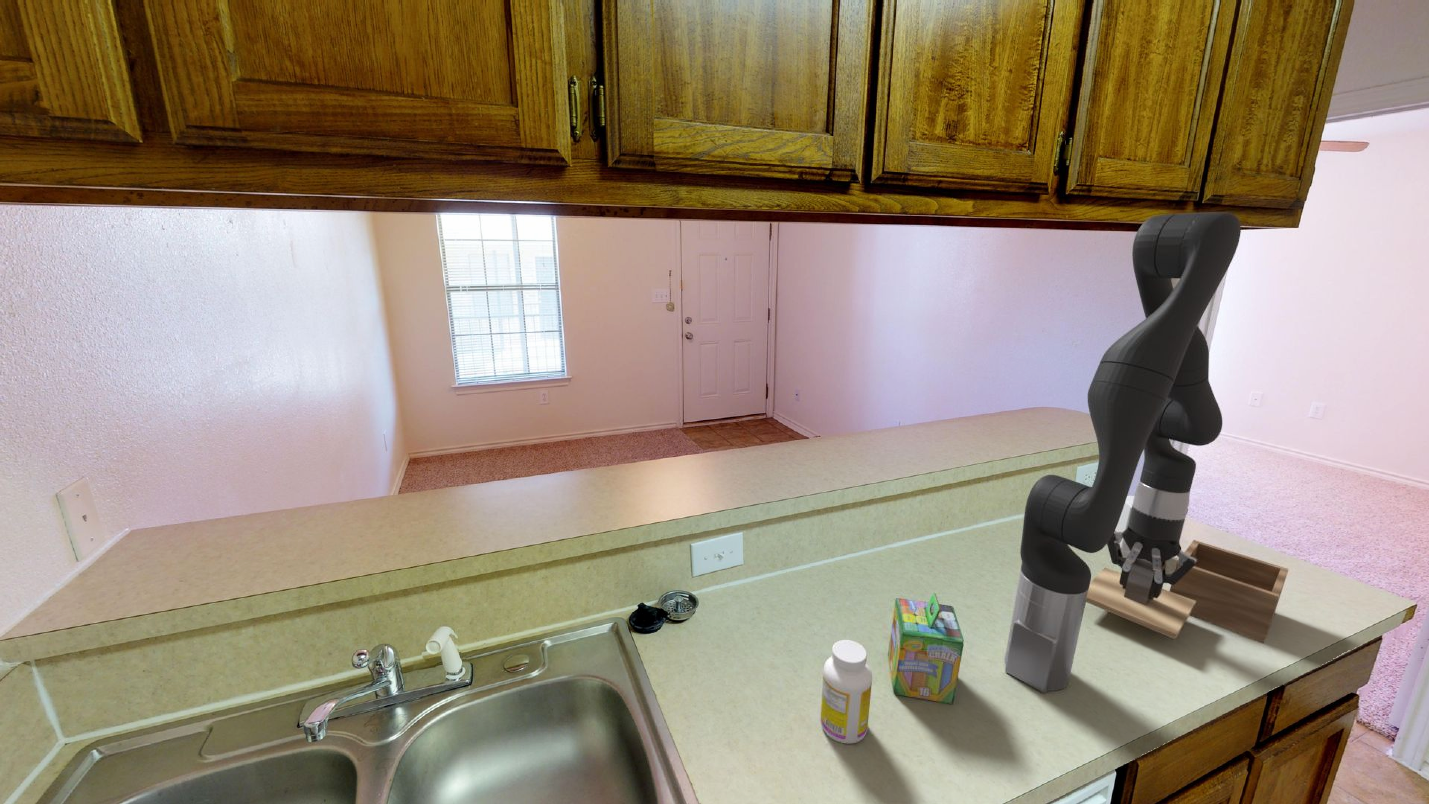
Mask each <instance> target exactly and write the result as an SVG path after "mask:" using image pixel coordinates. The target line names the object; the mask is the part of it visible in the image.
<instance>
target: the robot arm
mask: <svg viewBox="0 0 1429 804" xmlns="http://www.w3.org/2000/svg"><path fill="white" fill-rule="evenodd" d="M1241 231H1242V229H1241V222H1240V219H1239V217H1237V216H1236V215H1235V214H1233V213H1231V212H1227V211H1226V212H1224V211H1211V212H1210V211H1209V212H1208V211H1207V212H1187V213H1186V212H1185V213H1169V214H1168V213H1167V214H1160V215H1158V214H1157V215H1154V216H1151V217H1148V218H1147V219H1146V220H1145V221H1144V222H1143V223H1142V224H1141V226H1140V227H1139V228H1138V230H1137V232H1136V233H1135V236H1134V240H1133V245H1132V252H1131V254H1132V257H1131V258H1132V265H1133V266H1132V267H1133V272H1134V278H1135V281H1136V286H1137V288H1138V289H1137V290H1138V293H1139V297H1140V301H1141V306H1142V309H1143V313H1144V317H1145V319H1144V320H1142V321H1141V322H1140V323H1138V324H1137V325H1135V326H1134V327H1133V328H1131V329H1130V330H1128V331H1127V332H1126V333H1125V334H1123V335H1122V336H1121V337H1119V338H1118V339H1117V340H1116V341H1115V342H1114V343H1113V344H1111V345H1110V347H1108V348H1107V350H1106V351H1105V353H1104V354H1103V355H1102V357H1101V360H1100V362H1099V364H1098V366H1097V368H1096V371H1095V373H1094V376H1093V378H1092V381H1091V383H1090V385H1089V388H1088V391H1087V406H1088V411H1089V416H1090V420H1091V422H1092V426H1093V430H1094V433H1095V437H1096V441H1097V444H1098V445H1097V446H1098V447H1097V448H1098V463H1097V464H1098V465H1097V469H1096V472H1095V473H1096V474H1095V477H1094V479H1093V484H1092V485H1091V486H1089V485H1086V484H1084V483H1080V482H1077V481H1075V480H1072V479H1069V478H1067V477H1063V476H1059V475H1056V474H1046V475H1044V476H1042V477H1040V478H1039V479H1038V480H1036V482H1035V483H1034V485H1032V488H1031V490H1030V491H1029V494H1028V496H1027V499H1026V504H1025V508H1024V514H1023V524H1022V525H1023V526H1022V536H1021V544H1020V550H1019V551H1020V552H1019V553H1020V559H1021V560H1020V561H1021V567H1020V573H1019V579H1018V583H1017V589H1016V594H1015V599H1014V600H1015V601H1014V604H1013V605H1014V606H1013V610H1012V616H1011V621H1010V622H1011V623H1010V626H1009V627H1010V628H1009V633H1008V639H1007V644H1006V651H1005V655H1004V663H1005V668H1004V672H1006V673H1008V674H1009V675H1010V676H1012V677H1014V678H1016V679H1018V680H1020V681H1022V682H1024V683H1026V684H1027V685H1029V686H1030V687H1032V688H1034V689H1036V690H1038V691H1039V692H1041V693H1044V694H1046V693H1047V692H1048V691H1058V690H1062V689H1064V688H1066V687H1067V686H1068V685H1069V682H1070V678H1071V673H1072V669H1073V664H1074V659H1075V653H1076V650H1077V645H1078V641H1079V636H1080V631H1081V626H1082V622H1083V617H1084V613H1085V607H1086V603H1087V602H1086V600H1087V595H1088V590H1089V586H1090V583H1091V582H1092V581H1091V580H1092V571H1091V568H1090V567H1089V565H1088V564H1087V563H1086V561H1084V559H1082V558H1081V557H1080V556H1079V555H1078V554H1077V553H1076V552H1075V551H1074V550H1073V549H1072V548H1071V547H1073V548H1074V549H1077V550H1079V551H1082V552H1085V553H1088V554H1095V553H1097V552H1100V551H1101V550H1103V548H1104V547H1106V545H1107V549H1108V553H1109V557H1110V560H1111V562H1112V564H1113V565H1116V566H1118V567H1120V569H1121V572H1120V573H1121V577H1120V581H1119V582H1120V585H1123V587H1122V588H1123V589H1126V585H1127V581H1128V577H1129V572H1130V568H1131V564H1132V563H1133V564H1134V562H1135V561H1136V560H1137V559H1138V558H1139V559H1145V561H1148V562H1151V563H1153V570H1154V571H1155V572H1154V580H1153V581H1152V585H1151V589H1150V593H1149V597H1148V599H1151V600H1153V599H1154V598H1158V597H1159V596H1160V594H1161V591H1162V589H1163V585H1164V584H1168V585H1170V586H1171V585H1175V584H1176V583H1177V582H1178V581H1179V580H1180V579H1181V578H1182V577H1183V576H1184V575H1185V574H1186V573H1187V572H1188V571H1189V570H1190V569H1191V568H1193V567H1194V565H1195V564H1196V562H1197V561H1198V559H1197V558H1196V557H1195V556H1189V555H1188V554H1186V553H1185V551H1183V550H1182V547H1181V544H1180V542H1181V541H1180V540H1181V537H1182V532H1183V529H1184V524H1185V521H1186V517H1187V515H1188V511H1189V505H1190V495H1191V489H1192V484H1193V481H1194V478H1195V477H1194V476H1195V473H1196V470H1197V463H1196V461H1195V459H1194V458H1193V457H1191V456H1190V455H1187V454H1185V453H1183V452H1182V451H1180V450H1177V448H1175V447H1173V445H1172V443H1171V441H1175V442H1178V443H1183V444H1187V445H1191V446H1196V447H1197V446H1198V447H1201V446H1207V445H1209V444H1211V443H1213V442H1214V441H1215V440H1216V439H1217V438H1218V437H1219V436H1220V435H1221V432H1222V429H1223V415H1222V411H1221V408H1220V406H1219V403H1218V402H1217V399H1216V397H1215V393H1214V391H1213V389H1212V386H1211V383H1210V380H1209V375H1210V374H1209V373H1210V371H1209V370H1210V350H1209V346H1208V341H1207V339H1206V337H1205V335H1204V333H1203V331H1202V330H1201V328H1199V327H1200V326H1198V325H1199V323H1200V322H1201V321H1200V320H1201V319H1202V317H1203V315H1204V313H1205V312H1206V309H1207V308H1208V306H1209V304H1210V302H1211V301H1212V299H1213V297H1214V295H1215V293H1216V292H1217V290H1218V287H1220V285H1221V282H1222V281H1223V280H1224V279H1223V278H1224V277H1225V275H1226V273H1227V271H1228V269H1229V267H1230V265H1231V263H1232V262H1233V260H1234V257H1235V254H1236V252H1237V249H1238V246H1239V243H1240V238H1241V233H1242V232H1241ZM1172 279H1179V280H1178V281H1177V283H1176V285H1175V286H1173V282H1172ZM1170 440H1171V441H1170ZM1143 452H1144V453H1143ZM1142 454H1144V458H1143V459H1144V460H1143V465H1142V469H1141V474H1140V478H1139V481H1138V485H1137V487H1136V490H1135V492H1134V495H1133V496H1134V500H1133V505H1132V509H1131V514H1130V518H1129V523H1128V527H1127V529H1126V530H1125V531H1124V532H1116V531H1115V529H1116V527H1117V524H1118V522H1119V519H1120V516H1121V513H1122V510H1123V507H1124V504H1125V501H1126V498H1127V496H1129V491H1130V488H1131V485H1132V482H1133V480H1134V476H1135V473H1136V471H1137V468H1138V464H1139V461H1140V460H1141V456H1142ZM1122 538H1123V539H1124V540H1125V542H1126V544H1127V546H1128V548H1129V549H1130V551H1131V552H1130V553H1129V555H1128V557H1127V558H1123V555H1122V552H1121V548H1120V544H1119V543H1120V542H1121V541H1122ZM1174 557H1177V558H1178V560H1177V562H1178V564H1179V565H1180V566H1179V567H1178V568H1177V569H1176V570H1175V569H1174V571H1173V572H1172V573H1167V561H1169V560H1171V559H1172V558H1174Z"/></svg>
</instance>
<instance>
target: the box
mask: <svg viewBox="0 0 1429 804" xmlns="http://www.w3.org/2000/svg"><path fill="white" fill-rule="evenodd" d="M1184 552H1185V553H1186V554H1188V555H1189V556H1195V557H1196V558H1197V559H1198V561H1197V562H1196V564H1195V565H1194V567H1193V568H1191V569H1190V570H1189V571H1188V572H1187V573H1186V574H1185V575H1184V576H1183V577H1182V578H1181V579H1180V580H1179V581H1178V582H1177V583H1176V584H1175V585H1170V588H1169V591H1170V592H1173V593H1175V594H1178V595H1181V596H1183V597H1186V598H1189V599H1192V600H1194V601H1196V604H1195V607H1194V609H1193V610H1192V612H1191V614H1190V615H1189V616H1192V617H1195V618H1198V619H1199V620H1202V621H1205V622H1208V623H1209V624H1212V625H1216V626H1218V627H1220V628H1222V629H1226V630H1228V631H1231V632H1233V633H1235V634H1238V635H1241V636H1243V637H1247V638H1248V639H1251V640H1254V641H1256V642H1260V643H1262V644H1265V641H1266V638H1267V636H1268V634H1269V633H1268V632H1269V630H1270V628H1271V624H1272V622H1273V619H1274V616H1275V613H1276V610H1277V608H1278V604H1279V601H1280V597H1281V594H1282V591H1283V588H1284V586H1285V582H1286V579H1287V575H1288V572H1289V568H1287V567H1283V566H1280V565H1277V564H1274V563H1270V562H1267V561H1264V560H1260V559H1258V558H1254V557H1252V556H1249V555H1244V554H1240V553H1238V552H1235V551H1231V550H1227V549H1225V548H1221V547H1219V546H1215V545H1212V544H1208V543H1205V542H1202V541H1199V540H1196V539H1193V540H1192V542H1190V544H1189V546H1188V547H1187V549H1186V550H1184ZM1179 566H1180V565H1179V564H1178V561H1177V562H1176V564H1175V569H1174V571H1175V570H1176V569H1177V568H1178V567H1179Z"/></svg>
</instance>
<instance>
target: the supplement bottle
mask: <svg viewBox="0 0 1429 804" xmlns="http://www.w3.org/2000/svg"><path fill="white" fill-rule="evenodd" d="M867 656H868V653H867V650H866V648H864V646H863V645H862V644H860V643H858V642H856V641H854V640H850V639H841V640H838V641H836V642H835V643H833V645H832V649H831V656H830V657H829V658H828V659H826V661H825V663H824V665H823V673H822V689H821V703H820V705H821V706H820V724H821V728H822V729H823V730H824V732H825V733H826V735H827V736H828V737H830V738H831V739H833V740H834V741H836V742H838V743H841V744H855V743H859V742H860V741H862V740H863V739H864V738H865V736H866V735H867V734H868V733H867V732H868V726H869V719H870V718H869V716H870V707H871V706H870V705H871V696H872V695H871V693H872V685H873V674H872V670H871V668H870V666H869V664H867V658H868V657H867Z"/></svg>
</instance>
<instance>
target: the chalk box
mask: <svg viewBox="0 0 1429 804" xmlns="http://www.w3.org/2000/svg"><path fill="white" fill-rule="evenodd" d="M894 602H895V603H894V609H893V616H892V624H891V631H890V637H889V643H888V651H887V659H888V665H889V671H890V672H889V673H890V681H891V685H892V692H893V694H894V695H898V696H903V697H909V698H915V699H922V700H926V701H932V702H938V703H944V704H949V705H954V703H955V697H956V690H957V683H958V679H959V678H958V677H959V673H960V668H961V667H960V666H961V661H962V656H963V650H964V646H965V645H964V642H965V640H964V636H963V633H962V631H961V630H962V629H961V627H960V624H959V621H958V618H957V615H956V611H955V608H954V606H952V605H947V604H942V603H939V599H938V598H937V594H936V593H935V592H933V593H932V595H931V596H930V599H929V601H928V602H927V601H919V600H913V599H908V598H907V599H906V598H899V597H896V598H895V601H894Z"/></svg>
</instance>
